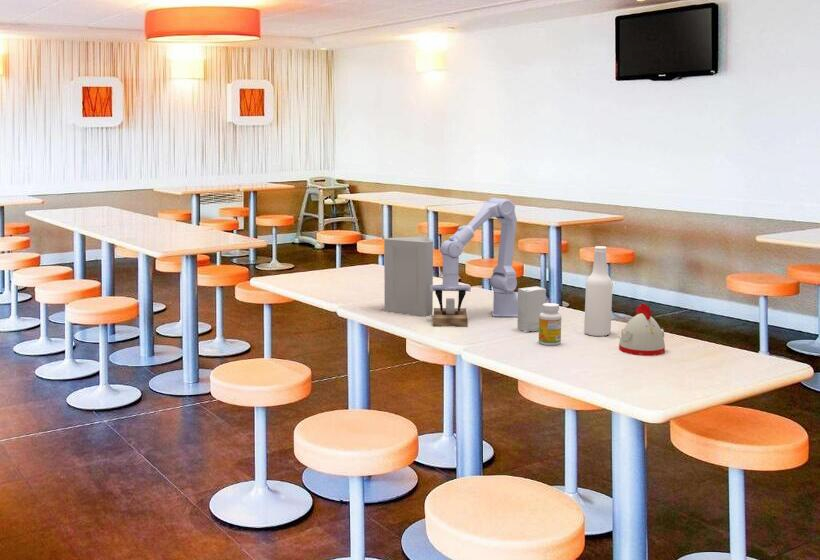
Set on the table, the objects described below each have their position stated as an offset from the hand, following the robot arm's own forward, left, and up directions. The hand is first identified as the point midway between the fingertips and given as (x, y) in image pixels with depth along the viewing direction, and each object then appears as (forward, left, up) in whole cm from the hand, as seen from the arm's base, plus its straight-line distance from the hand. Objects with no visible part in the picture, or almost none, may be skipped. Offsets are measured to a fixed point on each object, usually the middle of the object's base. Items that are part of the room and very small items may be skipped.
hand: (450, 310), depth 314 cm
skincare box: (-28, +13, -4) cm, 31 cm away
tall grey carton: (+13, -18, -4) cm, 23 cm away
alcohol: (-50, +18, -4) cm, 53 cm away
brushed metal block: (0, 0, -4) cm, 4 cm away
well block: (0, 0, -4) cm, 4 cm away
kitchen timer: (-60, +40, -4) cm, 72 cm away
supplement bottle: (-32, +32, -4) cm, 45 cm away
